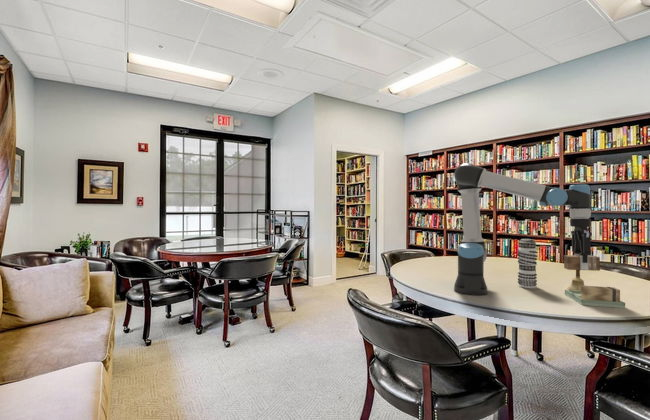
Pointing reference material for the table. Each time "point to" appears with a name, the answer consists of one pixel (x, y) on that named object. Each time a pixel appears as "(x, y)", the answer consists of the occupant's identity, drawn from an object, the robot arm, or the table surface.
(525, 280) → the decorative candle
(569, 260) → the walnut bar
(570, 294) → the pale green flat frame
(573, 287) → the hand bell
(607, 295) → the oak bar
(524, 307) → the table surface
